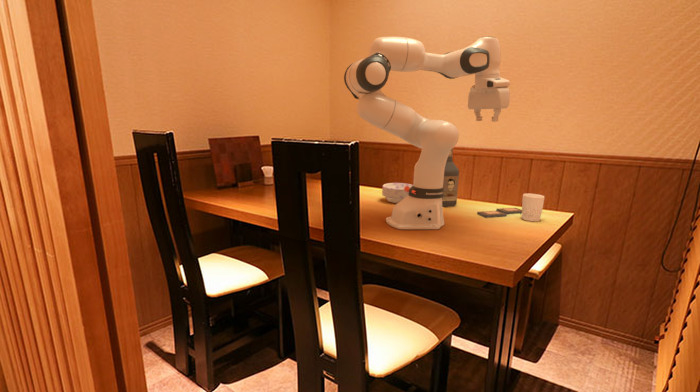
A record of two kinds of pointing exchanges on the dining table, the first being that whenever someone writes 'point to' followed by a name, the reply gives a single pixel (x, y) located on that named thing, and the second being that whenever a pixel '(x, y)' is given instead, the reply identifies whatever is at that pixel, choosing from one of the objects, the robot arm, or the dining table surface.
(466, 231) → the dining table surface
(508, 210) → the tile right
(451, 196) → the liquor
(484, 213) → the tile left
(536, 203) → the white cup
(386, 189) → the paper bowls
